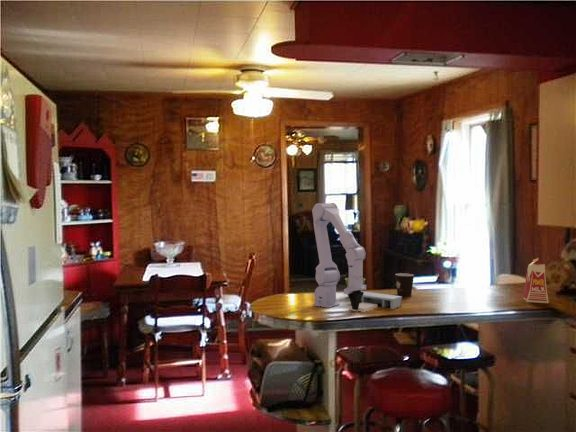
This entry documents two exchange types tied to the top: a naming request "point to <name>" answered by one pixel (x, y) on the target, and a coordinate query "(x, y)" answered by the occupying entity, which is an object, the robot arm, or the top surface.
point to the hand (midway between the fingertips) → (355, 309)
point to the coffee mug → (404, 284)
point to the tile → (364, 307)
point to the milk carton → (536, 283)
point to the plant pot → (348, 278)
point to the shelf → (382, 299)
